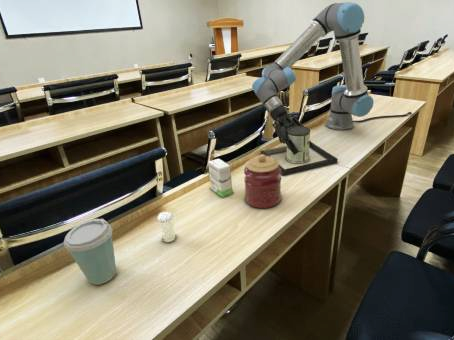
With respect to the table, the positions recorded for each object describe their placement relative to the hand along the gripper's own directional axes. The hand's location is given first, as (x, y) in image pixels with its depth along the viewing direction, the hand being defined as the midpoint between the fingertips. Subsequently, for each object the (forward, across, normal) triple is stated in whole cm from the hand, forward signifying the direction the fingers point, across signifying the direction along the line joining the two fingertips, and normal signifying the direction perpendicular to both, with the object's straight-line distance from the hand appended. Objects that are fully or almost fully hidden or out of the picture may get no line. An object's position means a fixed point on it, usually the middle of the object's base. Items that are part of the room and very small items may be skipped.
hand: (303, 149), depth 137 cm
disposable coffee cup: (+3, +90, -5) cm, 90 cm away
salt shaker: (+3, +71, -4) cm, 71 cm away
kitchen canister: (+9, +36, +1) cm, 37 cm away
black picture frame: (+2, 0, -6) cm, 6 cm away
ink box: (-2, +41, -10) cm, 43 cm away
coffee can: (+2, 0, -6) cm, 6 cm away
